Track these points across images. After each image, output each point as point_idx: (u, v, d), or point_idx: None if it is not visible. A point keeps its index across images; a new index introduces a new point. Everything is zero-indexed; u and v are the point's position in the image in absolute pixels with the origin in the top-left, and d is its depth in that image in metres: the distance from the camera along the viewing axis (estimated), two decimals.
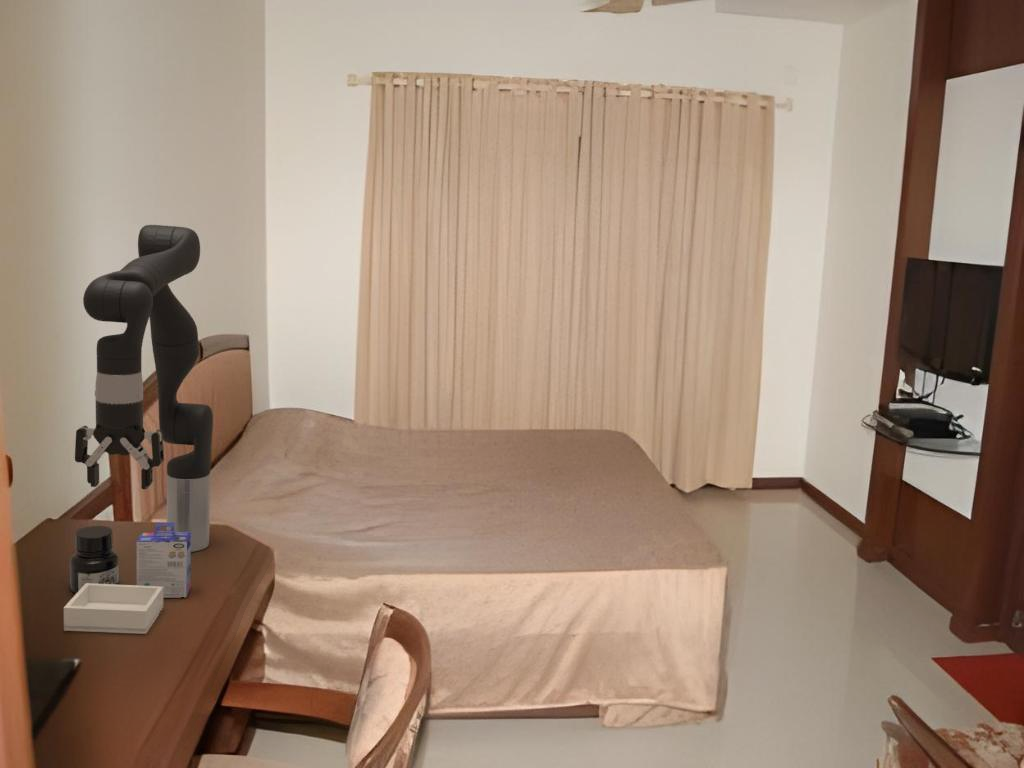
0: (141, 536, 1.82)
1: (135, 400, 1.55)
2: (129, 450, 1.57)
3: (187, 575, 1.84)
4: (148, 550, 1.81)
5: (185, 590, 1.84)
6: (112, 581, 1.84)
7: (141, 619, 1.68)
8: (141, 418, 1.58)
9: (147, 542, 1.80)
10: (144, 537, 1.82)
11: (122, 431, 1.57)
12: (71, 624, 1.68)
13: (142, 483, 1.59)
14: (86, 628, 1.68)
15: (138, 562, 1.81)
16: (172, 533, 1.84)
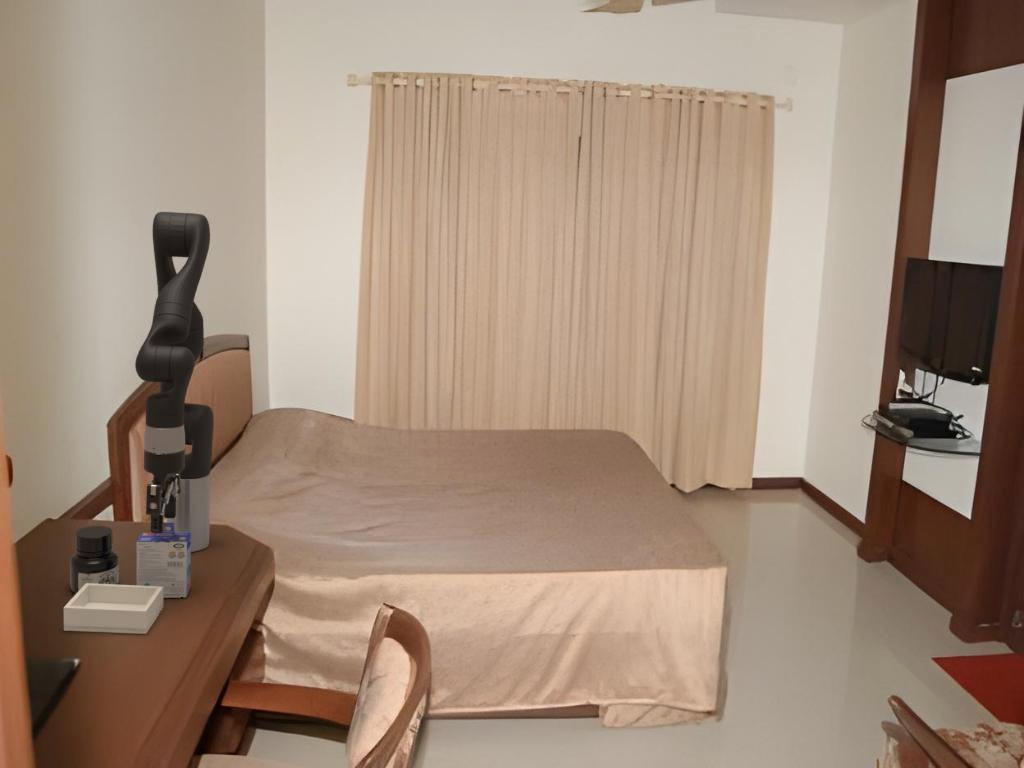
0: (141, 536, 1.82)
1: None
2: (176, 487, 1.83)
3: (187, 575, 1.84)
4: (148, 550, 1.81)
5: (185, 590, 1.84)
6: (112, 581, 1.84)
7: (141, 619, 1.68)
8: None
9: (147, 542, 1.80)
10: (144, 537, 1.82)
11: (171, 474, 1.81)
12: (71, 624, 1.68)
13: (175, 512, 1.87)
14: (86, 628, 1.68)
15: (138, 562, 1.81)
16: (172, 533, 1.84)
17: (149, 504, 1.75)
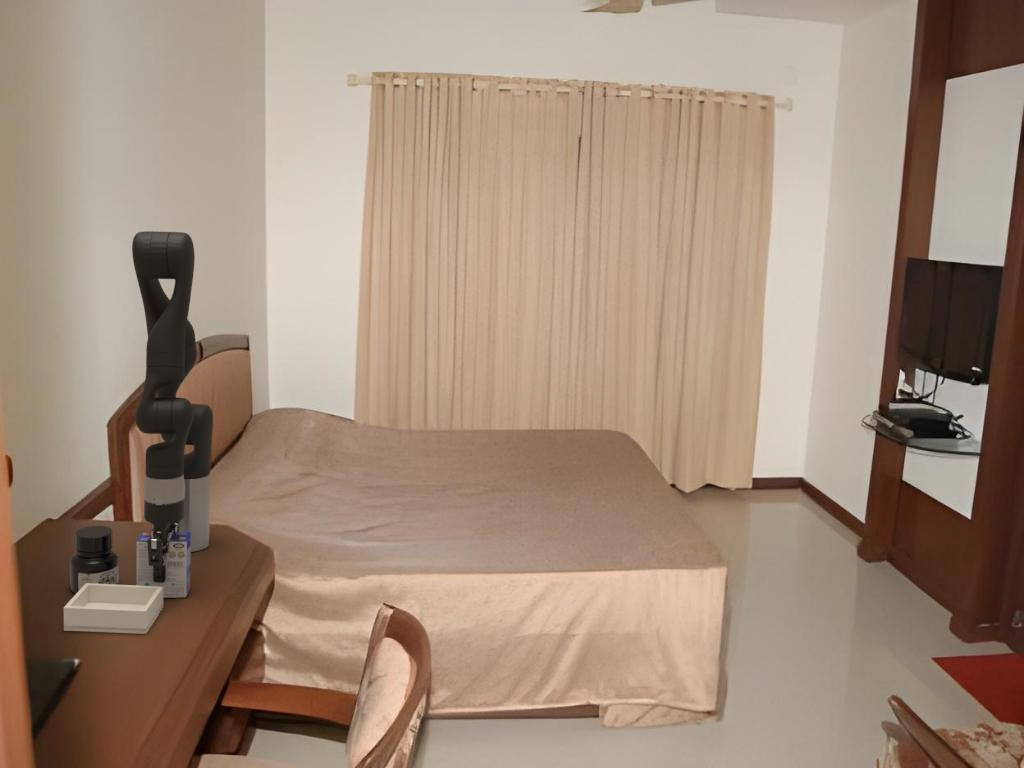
0: (141, 536, 1.82)
1: None
2: None
3: (187, 575, 1.84)
4: None
5: (185, 590, 1.84)
6: (112, 581, 1.84)
7: (141, 619, 1.68)
8: None
9: None
10: (144, 537, 1.82)
11: (171, 522, 1.83)
12: (71, 624, 1.68)
13: None
14: (86, 628, 1.68)
15: (138, 562, 1.81)
16: None
17: (151, 556, 1.78)
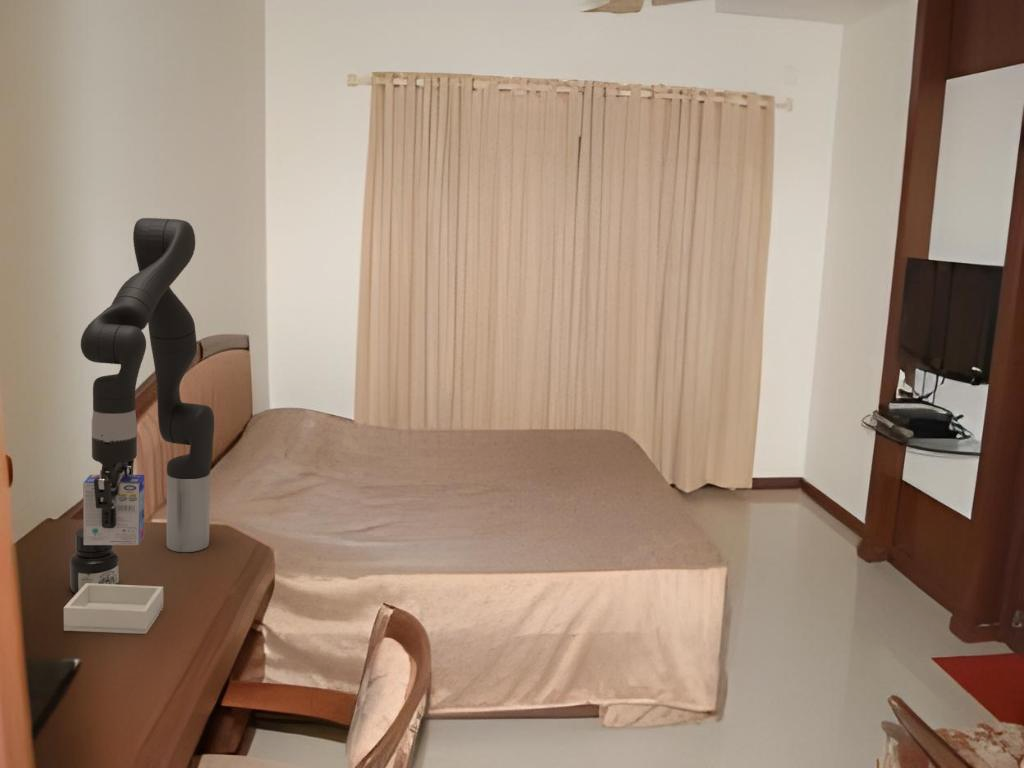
0: (89, 477, 1.67)
1: None
2: None
3: (139, 520, 1.69)
4: None
5: (137, 537, 1.68)
6: (112, 581, 1.84)
7: (141, 619, 1.68)
8: None
9: None
10: (93, 478, 1.67)
11: (122, 463, 1.68)
12: (71, 624, 1.68)
13: None
14: (86, 628, 1.68)
15: (86, 506, 1.65)
16: None
17: (98, 498, 1.63)
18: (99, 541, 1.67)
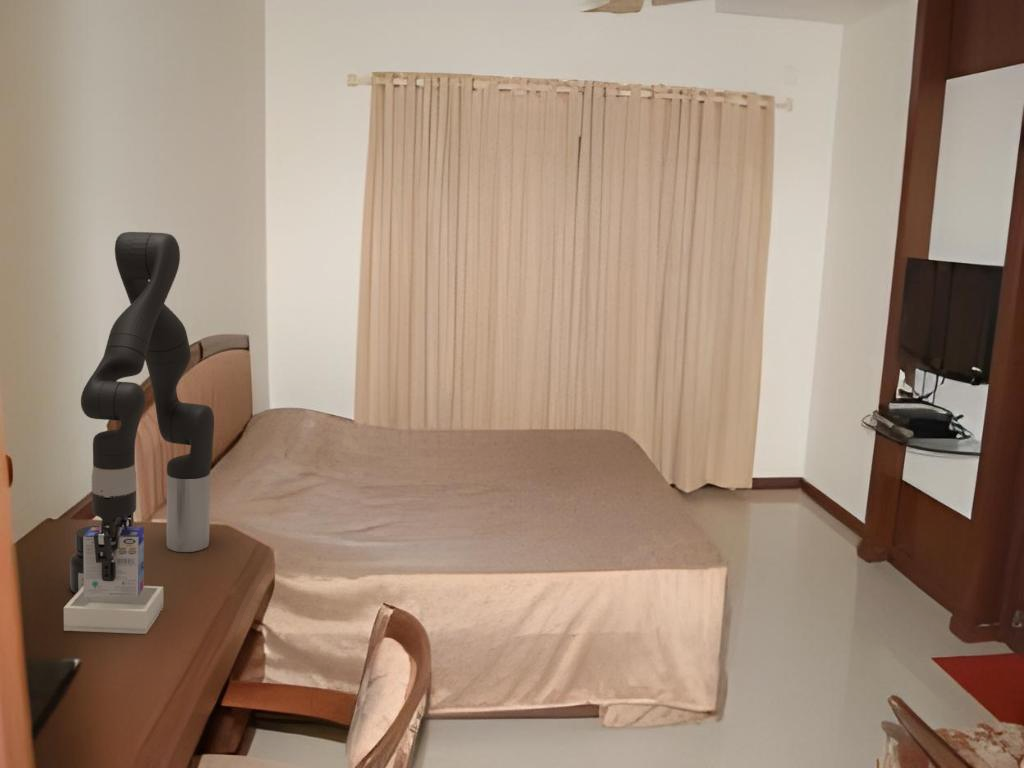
0: (89, 531, 1.69)
1: None
2: None
3: (139, 573, 1.71)
4: None
5: (137, 589, 1.71)
6: None
7: (141, 619, 1.68)
8: None
9: None
10: (93, 531, 1.69)
11: None
12: (71, 624, 1.68)
13: None
14: (86, 628, 1.68)
15: (86, 559, 1.68)
16: None
17: (98, 552, 1.65)
18: (99, 594, 1.69)
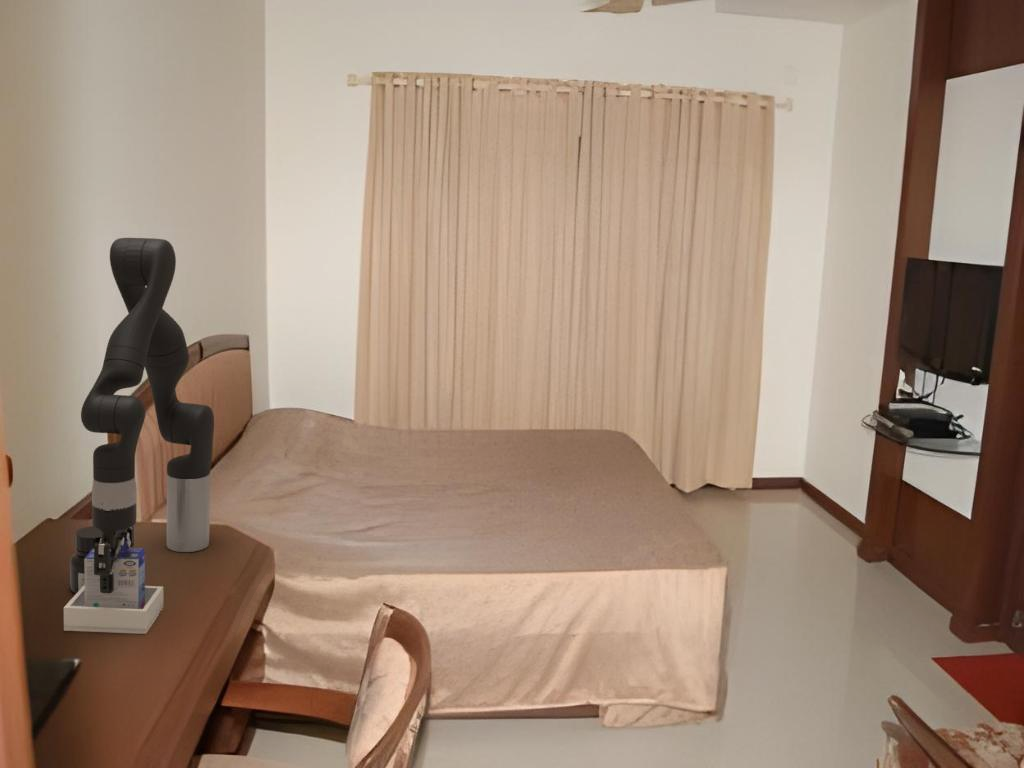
0: (91, 552, 1.71)
1: None
2: (127, 542, 1.73)
3: (139, 595, 1.72)
4: None
5: None
6: None
7: (141, 619, 1.68)
8: None
9: None
10: None
11: None
12: (71, 624, 1.68)
13: None
14: (86, 628, 1.68)
15: (87, 581, 1.69)
16: (124, 549, 1.72)
17: (97, 564, 1.64)
18: None
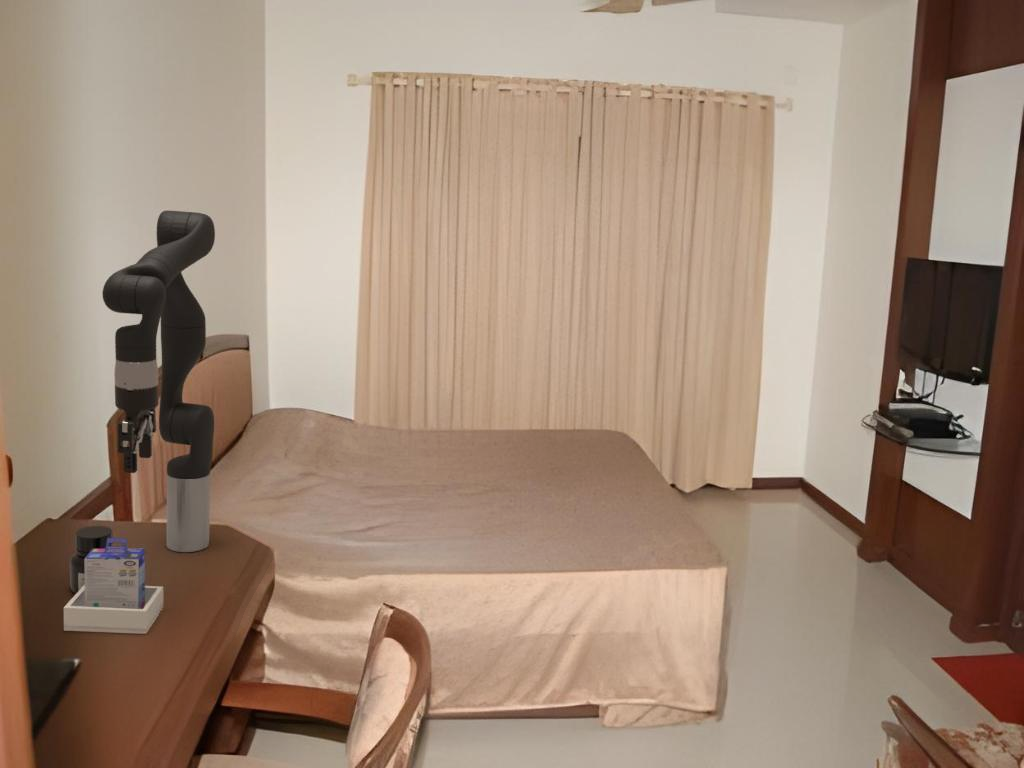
0: (91, 552, 1.71)
1: None
2: (150, 425, 1.75)
3: (139, 595, 1.72)
4: (96, 567, 1.69)
5: None
6: None
7: (141, 619, 1.68)
8: None
9: (95, 559, 1.68)
10: (94, 553, 1.70)
11: (144, 411, 1.73)
12: (71, 624, 1.68)
13: (151, 451, 1.78)
14: (86, 628, 1.68)
15: (87, 581, 1.69)
16: (124, 549, 1.72)
17: (121, 442, 1.66)
18: None
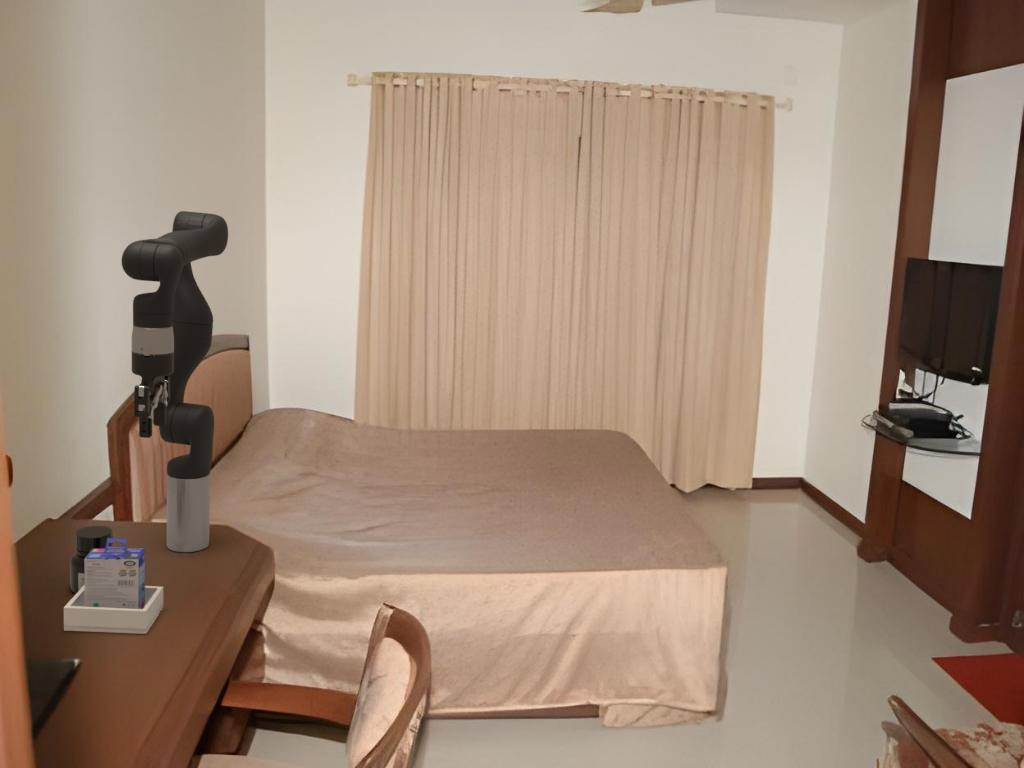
0: (90, 552, 1.71)
1: None
2: (165, 392, 1.78)
3: (139, 595, 1.72)
4: (96, 567, 1.69)
5: None
6: None
7: (141, 619, 1.68)
8: None
9: (95, 559, 1.68)
10: (94, 553, 1.70)
11: (159, 378, 1.76)
12: (71, 624, 1.68)
13: (165, 419, 1.81)
14: (86, 628, 1.68)
15: (87, 581, 1.69)
16: (124, 549, 1.72)
17: (137, 406, 1.70)
18: None
